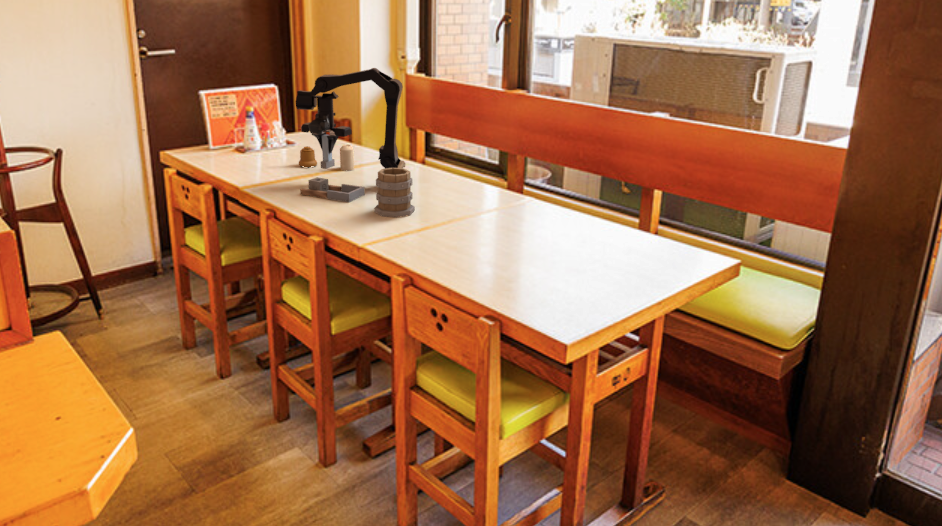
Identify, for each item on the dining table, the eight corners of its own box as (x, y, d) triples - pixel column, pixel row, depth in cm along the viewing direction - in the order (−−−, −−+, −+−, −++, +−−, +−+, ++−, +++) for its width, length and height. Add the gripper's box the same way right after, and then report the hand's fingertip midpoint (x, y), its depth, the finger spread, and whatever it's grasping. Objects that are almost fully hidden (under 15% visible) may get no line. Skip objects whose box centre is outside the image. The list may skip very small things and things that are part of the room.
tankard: (407, 218, 247) (407, 174, 242) (370, 215, 250) (369, 171, 244) (423, 202, 266) (423, 160, 260) (388, 199, 268) (388, 158, 263)
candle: (347, 171, 303) (346, 147, 300) (337, 169, 306) (336, 145, 303) (356, 169, 307) (356, 145, 304) (347, 166, 311) (346, 143, 307)
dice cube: (309, 193, 272) (308, 180, 271) (317, 190, 277) (317, 177, 275) (320, 195, 270) (319, 182, 268) (328, 192, 274) (328, 179, 273)
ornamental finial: (301, 168, 306) (297, 164, 312) (319, 167, 309) (314, 163, 315) (300, 149, 303) (295, 145, 309) (318, 148, 306) (313, 144, 312)
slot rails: (341, 191, 275) (341, 186, 275) (326, 198, 267) (326, 193, 266) (316, 187, 279) (316, 182, 279) (300, 194, 271) (300, 189, 270)
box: (364, 194, 272) (364, 186, 271) (349, 202, 263) (349, 193, 262) (343, 191, 275) (342, 183, 274) (327, 198, 266) (327, 190, 265)
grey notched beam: (334, 165, 285) (333, 134, 280) (326, 168, 280) (325, 137, 275) (329, 165, 285) (327, 133, 281) (320, 168, 281) (319, 136, 276)
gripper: (291, 111, 271) (293, 153, 277) (335, 116, 265) (336, 159, 270) (308, 107, 281) (310, 148, 287) (351, 111, 274) (353, 153, 280)
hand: (327, 152), depth 281 cm, fingers closed on grey notched beam, 2 cm apart
